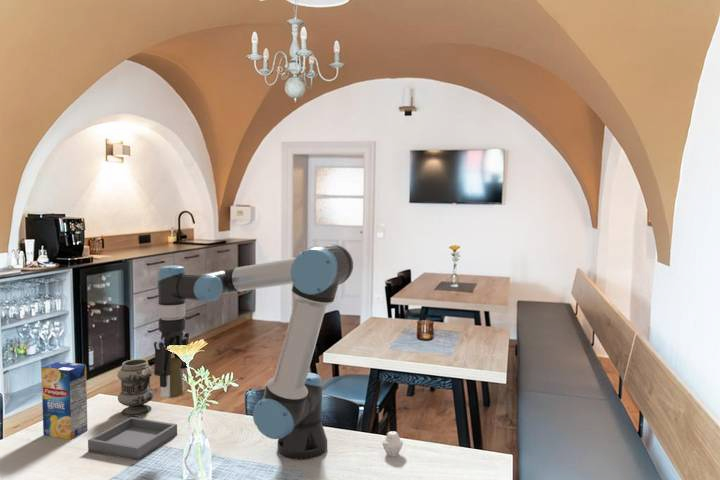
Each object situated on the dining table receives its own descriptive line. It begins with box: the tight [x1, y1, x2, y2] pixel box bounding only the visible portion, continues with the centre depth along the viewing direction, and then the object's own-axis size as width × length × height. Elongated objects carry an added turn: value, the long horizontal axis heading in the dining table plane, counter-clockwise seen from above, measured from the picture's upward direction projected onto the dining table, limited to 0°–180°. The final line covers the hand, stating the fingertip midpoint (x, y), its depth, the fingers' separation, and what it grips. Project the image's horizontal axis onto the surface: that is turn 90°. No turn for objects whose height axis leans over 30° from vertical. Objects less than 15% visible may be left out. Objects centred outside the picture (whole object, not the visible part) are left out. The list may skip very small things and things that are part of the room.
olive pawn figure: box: [165, 357, 184, 399], centre depth 159 cm, size 6×6×11 cm
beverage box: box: [40, 361, 89, 440], centre depth 170 cm, size 7×11×22 cm, turn 74°
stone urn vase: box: [116, 358, 155, 417], centre depth 188 cm, size 12×12×18 cm
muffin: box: [381, 431, 404, 458], centre depth 158 cm, size 6×6×7 cm
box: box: [87, 416, 178, 461], centre depth 164 cm, size 18×18×4 cm
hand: (172, 392), depth 160 cm, fingers closed on olive pawn figure, 6 cm apart
